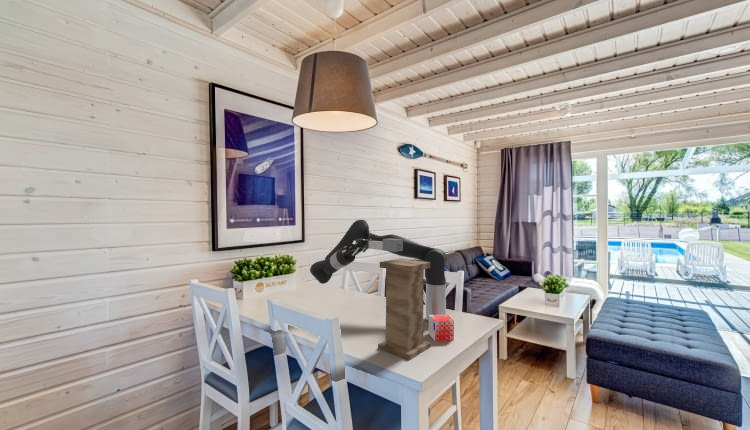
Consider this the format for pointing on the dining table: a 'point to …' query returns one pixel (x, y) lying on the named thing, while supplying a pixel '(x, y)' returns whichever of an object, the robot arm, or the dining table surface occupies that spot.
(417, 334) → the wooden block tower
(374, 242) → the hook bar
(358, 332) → the dining table surface
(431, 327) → the puzzle cube
